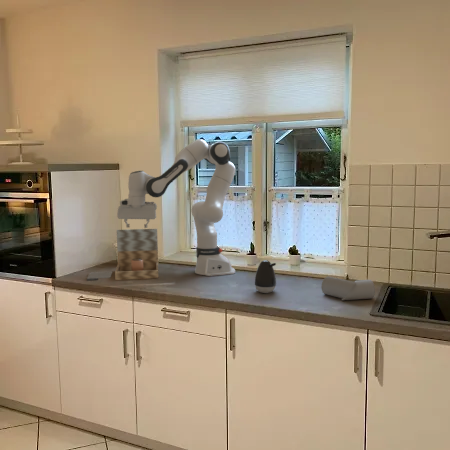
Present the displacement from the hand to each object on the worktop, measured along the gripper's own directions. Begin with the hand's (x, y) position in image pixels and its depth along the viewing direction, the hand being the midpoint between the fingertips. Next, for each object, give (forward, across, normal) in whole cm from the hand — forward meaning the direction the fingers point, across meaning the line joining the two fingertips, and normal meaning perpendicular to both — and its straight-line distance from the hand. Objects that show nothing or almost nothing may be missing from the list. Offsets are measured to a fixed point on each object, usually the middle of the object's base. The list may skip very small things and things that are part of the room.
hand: (136, 227), depth 251 cm
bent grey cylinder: (+25, -100, +46) cm, 113 cm away
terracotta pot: (+25, 0, 0) cm, 25 cm away
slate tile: (+27, +20, 0) cm, 33 cm away
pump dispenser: (+25, -65, +35) cm, 78 cm away
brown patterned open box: (+26, 0, 0) cm, 26 cm away
